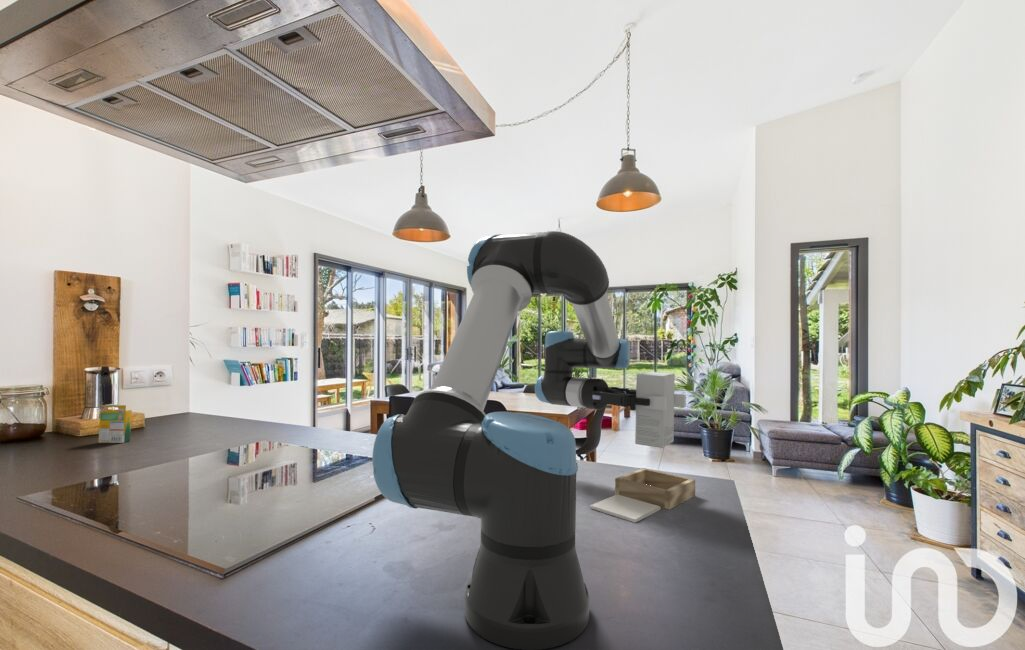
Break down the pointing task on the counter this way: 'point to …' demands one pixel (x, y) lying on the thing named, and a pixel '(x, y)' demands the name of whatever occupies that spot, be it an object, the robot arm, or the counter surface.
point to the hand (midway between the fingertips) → (675, 402)
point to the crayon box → (114, 424)
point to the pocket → (655, 487)
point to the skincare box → (655, 410)
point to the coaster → (625, 508)
